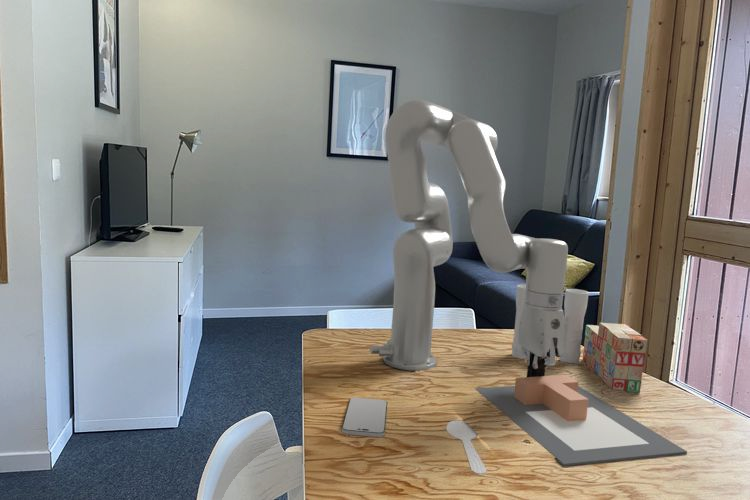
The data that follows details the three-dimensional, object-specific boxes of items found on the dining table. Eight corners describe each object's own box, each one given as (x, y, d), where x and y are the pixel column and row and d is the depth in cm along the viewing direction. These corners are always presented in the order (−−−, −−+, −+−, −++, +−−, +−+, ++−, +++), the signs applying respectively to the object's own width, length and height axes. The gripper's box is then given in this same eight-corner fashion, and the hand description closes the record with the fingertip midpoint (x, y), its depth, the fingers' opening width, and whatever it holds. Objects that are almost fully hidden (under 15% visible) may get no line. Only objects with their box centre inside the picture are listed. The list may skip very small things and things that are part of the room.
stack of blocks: (581, 359, 141) (587, 312, 139) (606, 361, 141) (612, 314, 139) (611, 391, 120) (618, 336, 118) (640, 394, 119) (648, 338, 118)
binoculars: (510, 358, 138) (517, 287, 136) (509, 351, 144) (516, 283, 141) (582, 366, 135) (590, 294, 133) (578, 359, 141) (586, 290, 138)
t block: (549, 422, 101) (551, 401, 100) (513, 396, 112) (515, 377, 111) (603, 417, 104) (606, 397, 104) (564, 393, 116) (566, 374, 115)
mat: (563, 466, 86) (563, 463, 86) (474, 389, 115) (474, 388, 115) (686, 453, 93) (687, 451, 93) (572, 384, 122) (573, 382, 122)
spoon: (462, 475, 82) (463, 472, 82) (442, 421, 100) (442, 419, 100) (498, 476, 82) (498, 473, 82) (471, 422, 100) (472, 420, 100)
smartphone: (387, 400, 107) (384, 433, 92) (387, 405, 107) (384, 440, 92) (350, 396, 107) (341, 429, 92) (349, 402, 107) (340, 436, 92)
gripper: (582, 307, 107) (572, 398, 109) (538, 291, 121) (530, 371, 124) (548, 308, 105) (539, 400, 107) (508, 291, 119) (500, 373, 121)
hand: (534, 384), depth 115 cm, fingers closed
